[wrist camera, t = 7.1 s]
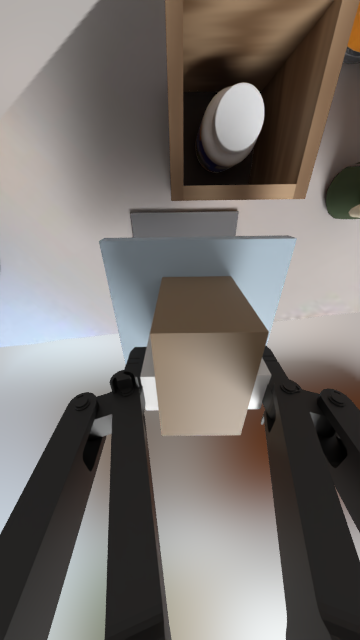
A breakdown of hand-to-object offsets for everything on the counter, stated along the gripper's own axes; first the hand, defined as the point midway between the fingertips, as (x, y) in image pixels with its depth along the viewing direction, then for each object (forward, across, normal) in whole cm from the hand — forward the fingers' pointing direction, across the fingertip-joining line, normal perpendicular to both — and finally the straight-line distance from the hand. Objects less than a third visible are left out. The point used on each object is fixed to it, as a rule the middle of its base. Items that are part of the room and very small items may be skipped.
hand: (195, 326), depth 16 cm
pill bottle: (+18, +4, +14) cm, 23 cm away
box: (+18, +4, +14) cm, 23 cm away
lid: (+3, 0, 0) cm, 3 cm away
